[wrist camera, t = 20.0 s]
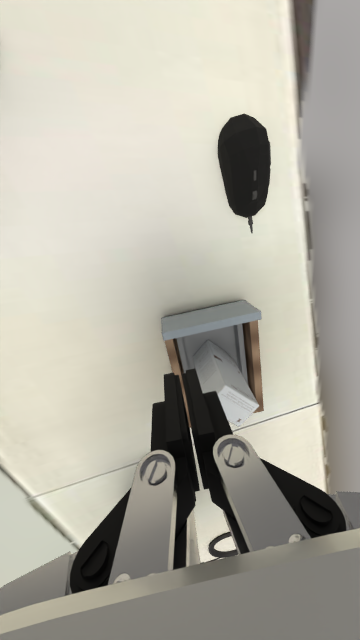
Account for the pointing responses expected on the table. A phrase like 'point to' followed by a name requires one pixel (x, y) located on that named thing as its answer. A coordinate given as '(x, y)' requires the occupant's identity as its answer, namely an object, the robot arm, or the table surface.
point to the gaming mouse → (245, 164)
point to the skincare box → (224, 382)
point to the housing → (250, 354)
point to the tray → (211, 331)
